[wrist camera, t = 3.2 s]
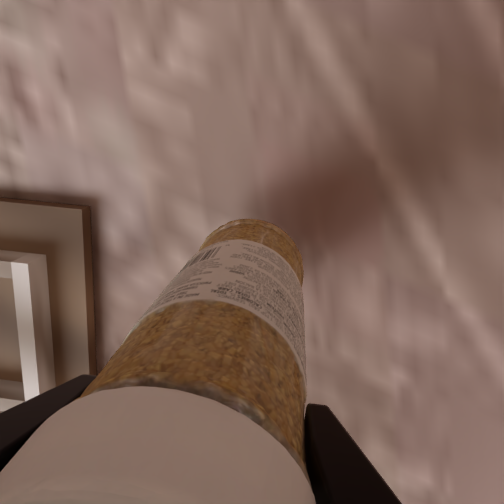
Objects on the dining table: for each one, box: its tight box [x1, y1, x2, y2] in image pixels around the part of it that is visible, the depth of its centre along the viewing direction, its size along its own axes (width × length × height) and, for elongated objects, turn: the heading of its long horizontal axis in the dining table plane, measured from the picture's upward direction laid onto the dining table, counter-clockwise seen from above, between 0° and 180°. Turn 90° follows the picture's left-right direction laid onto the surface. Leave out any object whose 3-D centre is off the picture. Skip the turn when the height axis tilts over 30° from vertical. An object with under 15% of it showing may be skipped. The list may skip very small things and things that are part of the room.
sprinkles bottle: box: [0, 219, 316, 504], centre depth 11 cm, size 5×5×14 cm
